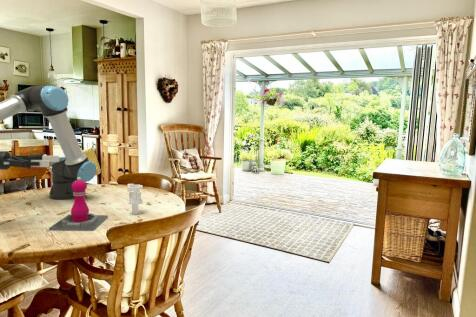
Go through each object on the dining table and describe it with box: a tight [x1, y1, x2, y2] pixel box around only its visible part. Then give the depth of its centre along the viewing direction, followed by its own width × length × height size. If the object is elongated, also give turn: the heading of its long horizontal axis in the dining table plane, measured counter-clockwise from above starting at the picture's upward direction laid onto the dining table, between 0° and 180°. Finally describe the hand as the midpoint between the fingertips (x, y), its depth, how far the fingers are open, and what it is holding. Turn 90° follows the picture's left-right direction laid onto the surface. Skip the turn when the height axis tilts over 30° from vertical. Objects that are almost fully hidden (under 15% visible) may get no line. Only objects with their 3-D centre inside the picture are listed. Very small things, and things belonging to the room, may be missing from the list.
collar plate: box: [48, 212, 109, 232], centre depth 145 cm, size 18×18×2 cm
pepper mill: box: [70, 177, 90, 222], centre depth 144 cm, size 7×7×20 cm
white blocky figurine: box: [127, 183, 143, 215], centre depth 161 cm, size 7×7×15 cm
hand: (54, 161), depth 140 cm, fingers open, 13 cm apart
